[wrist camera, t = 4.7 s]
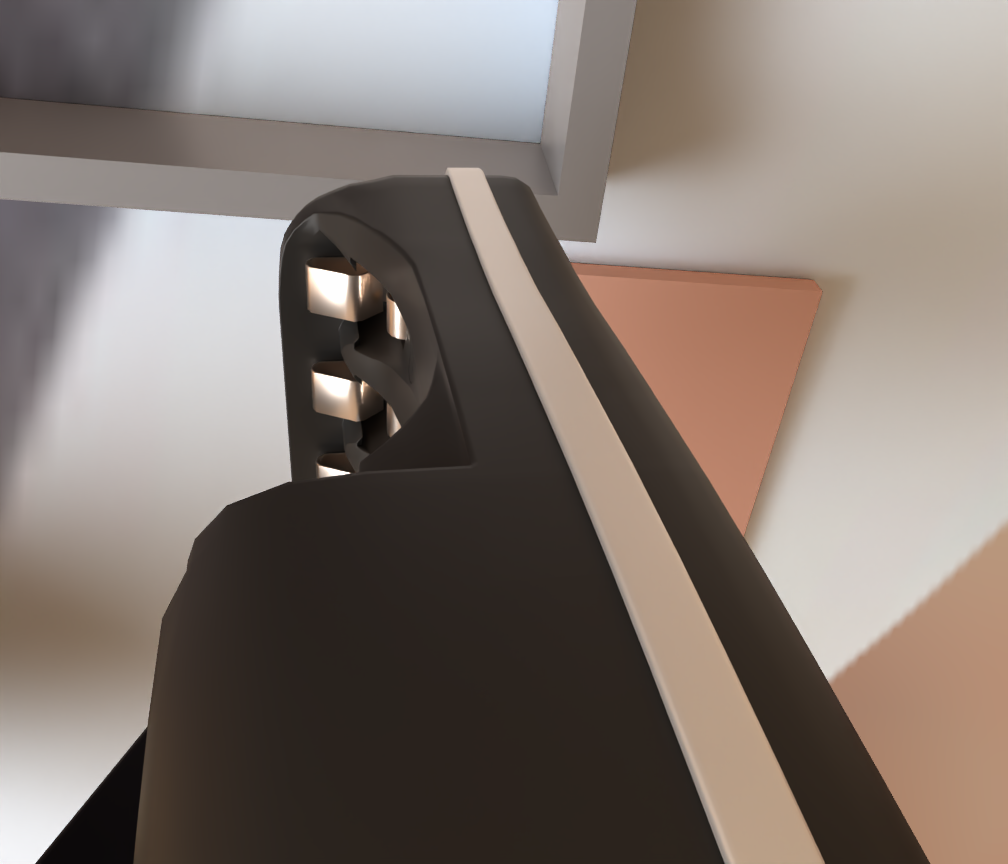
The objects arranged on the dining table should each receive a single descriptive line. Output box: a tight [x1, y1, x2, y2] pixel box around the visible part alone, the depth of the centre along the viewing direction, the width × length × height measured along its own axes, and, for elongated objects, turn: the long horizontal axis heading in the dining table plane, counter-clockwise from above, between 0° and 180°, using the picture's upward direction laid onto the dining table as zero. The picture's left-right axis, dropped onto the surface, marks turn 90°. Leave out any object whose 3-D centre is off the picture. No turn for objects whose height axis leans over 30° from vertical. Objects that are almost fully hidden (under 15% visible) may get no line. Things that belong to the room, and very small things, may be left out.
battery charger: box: [133, 168, 930, 864], centre depth 9 cm, size 7×4×11 cm, turn 176°
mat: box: [571, 263, 823, 537], centre depth 23 cm, size 9×9×1 cm
